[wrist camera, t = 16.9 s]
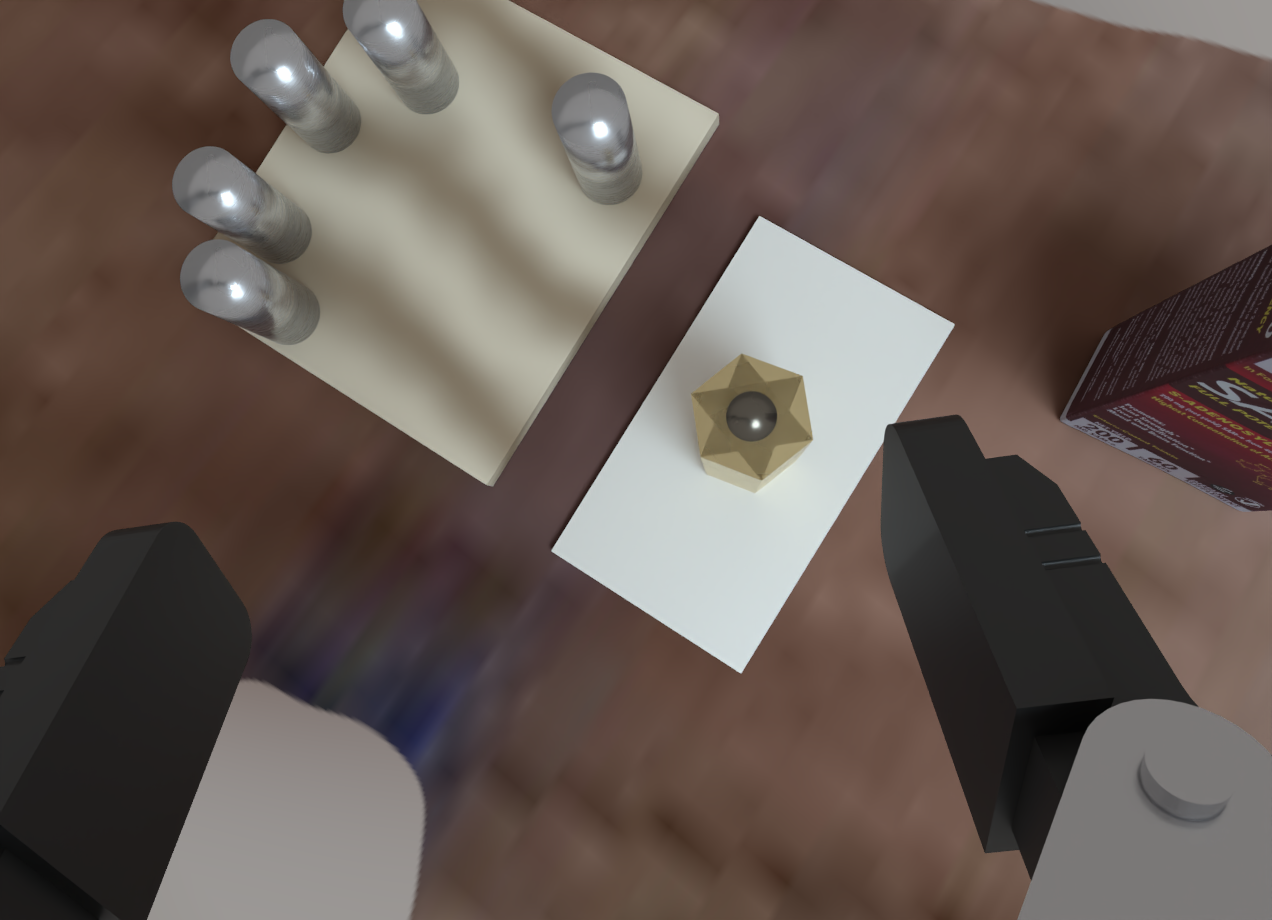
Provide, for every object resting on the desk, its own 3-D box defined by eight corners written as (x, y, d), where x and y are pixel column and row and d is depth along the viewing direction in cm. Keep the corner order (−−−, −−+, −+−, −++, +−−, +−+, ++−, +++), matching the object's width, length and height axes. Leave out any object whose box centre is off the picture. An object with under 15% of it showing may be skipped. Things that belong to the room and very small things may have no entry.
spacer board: (492, 486, 40) (486, 485, 39) (193, 295, 42) (181, 289, 42) (719, 124, 40) (718, 113, 39) (410, -44, 43) (402, -57, 42)
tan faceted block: (734, 509, 38) (735, 500, 30) (678, 439, 39) (665, 413, 31) (816, 444, 38) (839, 419, 30) (759, 375, 39) (766, 332, 31)
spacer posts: (465, 463, 39) (418, 450, 33) (191, 289, 41) (102, 246, 36) (654, 161, 40) (641, 94, 34) (373, 5, 42) (314, -84, 36)
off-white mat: (741, 672, 38) (741, 673, 38) (552, 550, 39) (551, 551, 39) (952, 326, 38) (955, 324, 38) (759, 219, 40) (759, 216, 39)
